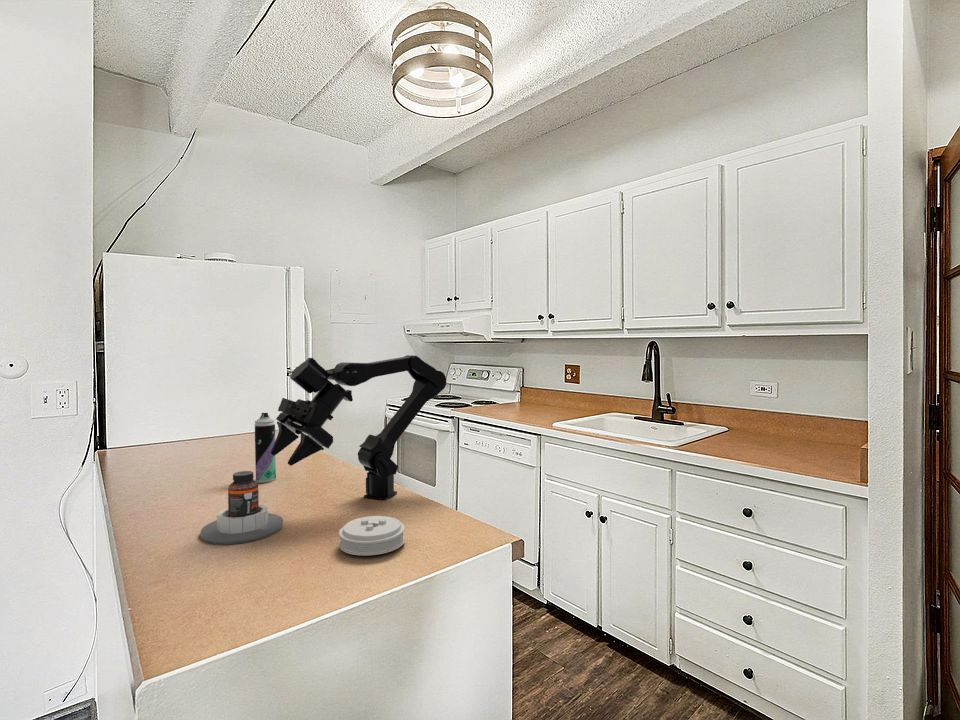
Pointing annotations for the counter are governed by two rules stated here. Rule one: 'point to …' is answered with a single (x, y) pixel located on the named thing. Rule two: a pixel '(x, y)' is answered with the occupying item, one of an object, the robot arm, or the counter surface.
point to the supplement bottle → (243, 495)
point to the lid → (371, 535)
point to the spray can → (265, 449)
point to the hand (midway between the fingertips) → (280, 459)
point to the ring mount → (241, 527)
